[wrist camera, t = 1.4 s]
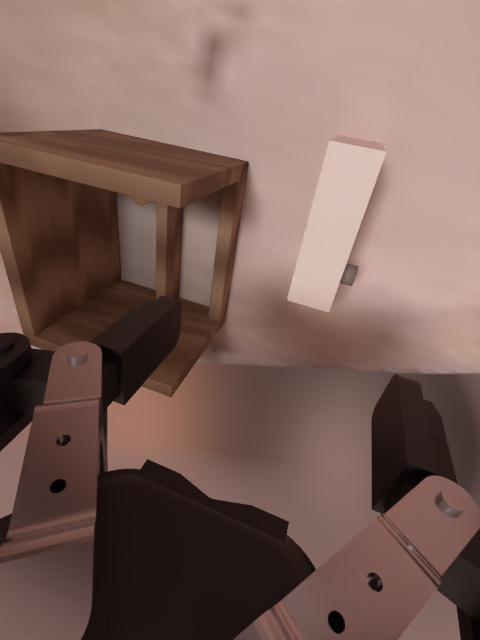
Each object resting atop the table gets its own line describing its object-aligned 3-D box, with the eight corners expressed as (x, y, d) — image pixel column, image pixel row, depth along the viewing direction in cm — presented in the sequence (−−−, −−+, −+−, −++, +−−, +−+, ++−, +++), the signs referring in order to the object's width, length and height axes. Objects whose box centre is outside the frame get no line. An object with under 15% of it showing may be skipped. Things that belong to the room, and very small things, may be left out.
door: (339, 135, 24) (329, 140, 17) (395, 145, 23) (406, 155, 17) (304, 260, 30) (286, 300, 23) (348, 272, 29) (343, 316, 22)
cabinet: (100, 129, 29) (-32, 133, 20) (248, 161, 27) (180, 184, 17) (112, 286, 38) (25, 342, 28) (224, 321, 36) (171, 397, 26)
